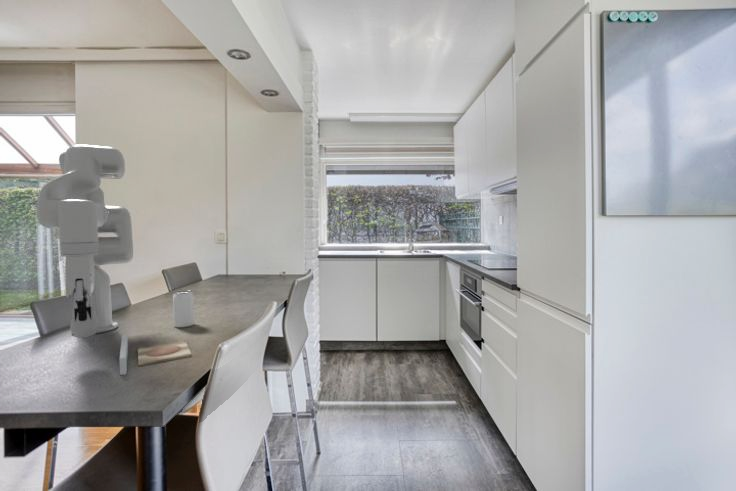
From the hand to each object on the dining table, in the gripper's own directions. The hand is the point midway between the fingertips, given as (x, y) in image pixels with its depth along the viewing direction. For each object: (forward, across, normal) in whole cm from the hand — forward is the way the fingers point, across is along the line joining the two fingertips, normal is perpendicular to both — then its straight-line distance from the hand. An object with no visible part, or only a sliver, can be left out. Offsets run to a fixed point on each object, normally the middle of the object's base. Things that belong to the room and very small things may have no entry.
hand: (84, 320), depth 91 cm
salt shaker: (+4, 0, 0) cm, 4 cm away
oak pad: (+11, +3, +17) cm, 21 cm away
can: (+12, -25, +25) cm, 37 cm away
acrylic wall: (+11, +3, +8) cm, 14 cm away
